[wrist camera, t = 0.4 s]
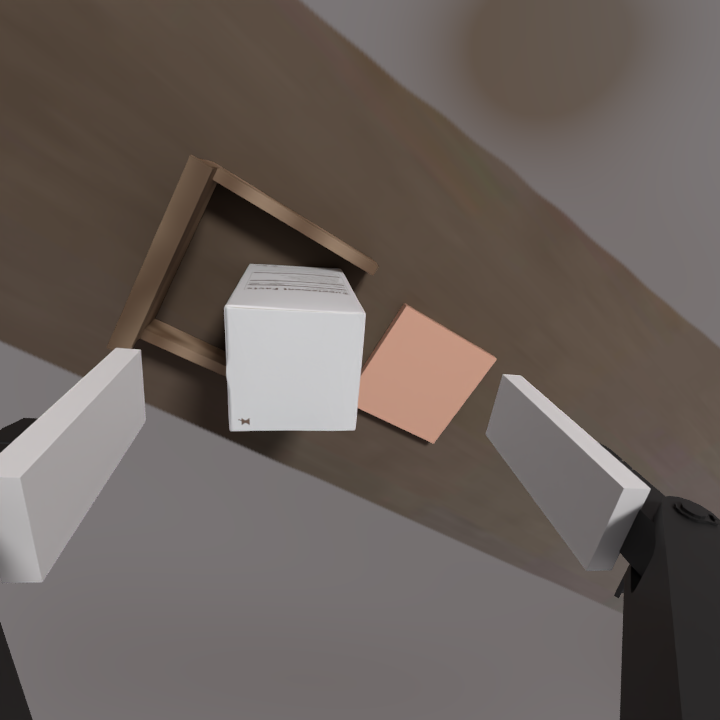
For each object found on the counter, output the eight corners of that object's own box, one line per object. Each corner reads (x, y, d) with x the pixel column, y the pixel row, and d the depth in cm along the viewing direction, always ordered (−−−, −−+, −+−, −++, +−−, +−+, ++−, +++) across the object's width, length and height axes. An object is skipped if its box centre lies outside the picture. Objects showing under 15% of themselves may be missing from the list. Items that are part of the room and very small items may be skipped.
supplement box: (338, 355, 43) (357, 436, 29) (248, 352, 42) (225, 436, 28) (344, 266, 40) (370, 312, 26) (247, 260, 38) (220, 305, 25)
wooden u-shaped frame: (136, 321, 39) (106, 347, 33) (209, 159, 35) (190, 155, 28) (293, 392, 44) (292, 427, 38) (373, 260, 40) (387, 274, 34)
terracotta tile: (343, 397, 45) (344, 401, 44) (404, 303, 42) (406, 305, 41) (430, 438, 49) (433, 443, 48) (493, 355, 46) (496, 359, 45)
